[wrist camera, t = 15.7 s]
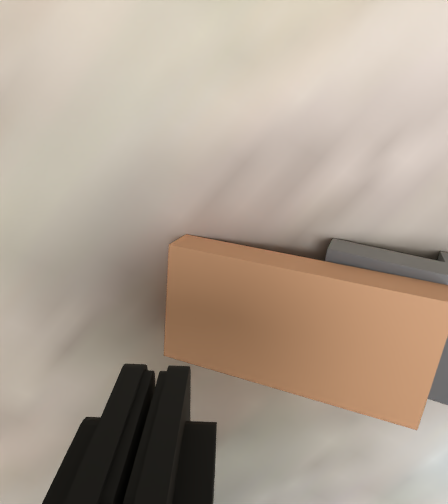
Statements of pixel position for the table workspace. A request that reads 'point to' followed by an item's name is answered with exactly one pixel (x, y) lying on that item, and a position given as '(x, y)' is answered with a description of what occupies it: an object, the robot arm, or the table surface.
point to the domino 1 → (307, 326)
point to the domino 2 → (376, 259)
